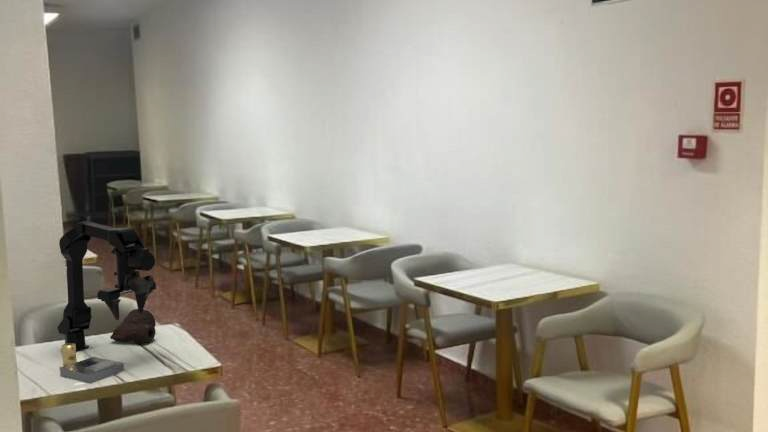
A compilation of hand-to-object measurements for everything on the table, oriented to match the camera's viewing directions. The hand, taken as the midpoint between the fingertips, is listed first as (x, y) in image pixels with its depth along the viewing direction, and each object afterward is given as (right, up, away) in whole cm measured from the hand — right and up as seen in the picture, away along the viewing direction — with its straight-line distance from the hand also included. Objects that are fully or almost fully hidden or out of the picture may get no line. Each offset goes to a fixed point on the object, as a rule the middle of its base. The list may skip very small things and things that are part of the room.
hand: (129, 316), depth 233 cm
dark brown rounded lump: (-6, -12, +27) cm, 30 cm away
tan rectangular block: (-18, -16, -2) cm, 24 cm away
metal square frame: (-8, -16, -9) cm, 20 cm away
